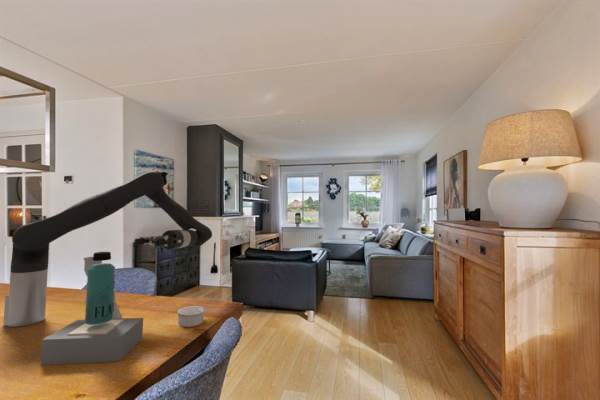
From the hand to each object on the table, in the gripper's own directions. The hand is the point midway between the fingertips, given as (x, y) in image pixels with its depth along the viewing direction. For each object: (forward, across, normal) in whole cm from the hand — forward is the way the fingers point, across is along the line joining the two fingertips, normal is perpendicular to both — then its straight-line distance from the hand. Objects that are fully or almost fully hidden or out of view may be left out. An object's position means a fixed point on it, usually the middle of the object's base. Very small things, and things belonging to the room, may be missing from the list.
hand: (145, 242), depth 98 cm
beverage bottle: (+20, +5, +21) cm, 29 cm away
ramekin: (-4, +17, +27) cm, 32 cm away
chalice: (-13, -38, +27) cm, 48 cm away
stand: (+20, +5, +27) cm, 34 cm away
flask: (+2, -12, +27) cm, 30 cm away
